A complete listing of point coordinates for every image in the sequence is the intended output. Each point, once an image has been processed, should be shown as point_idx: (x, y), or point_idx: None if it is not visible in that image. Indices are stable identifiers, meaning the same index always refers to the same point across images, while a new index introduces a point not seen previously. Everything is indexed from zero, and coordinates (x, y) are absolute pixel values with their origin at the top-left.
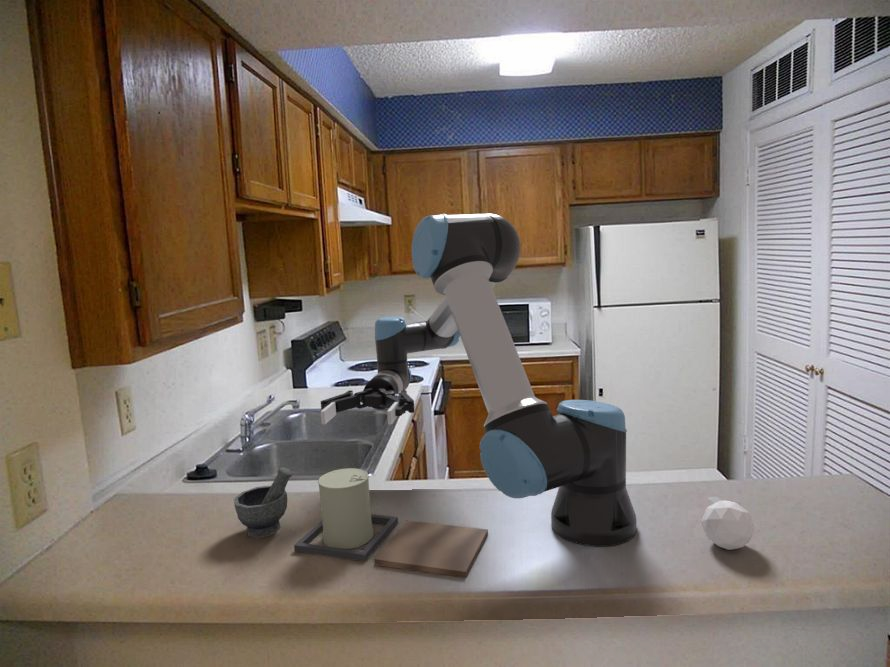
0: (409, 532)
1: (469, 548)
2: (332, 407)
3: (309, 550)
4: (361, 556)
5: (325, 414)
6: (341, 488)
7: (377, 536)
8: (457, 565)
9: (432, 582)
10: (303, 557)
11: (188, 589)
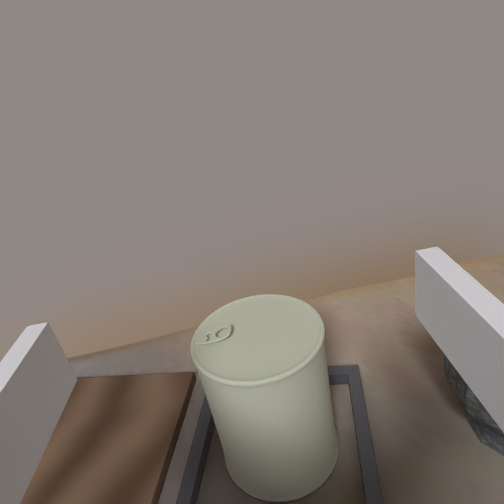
0: (135, 464)
1: None
2: (501, 358)
3: None
4: None
5: (422, 279)
6: (238, 300)
7: (203, 427)
8: None
9: (105, 367)
10: (328, 366)
11: None
